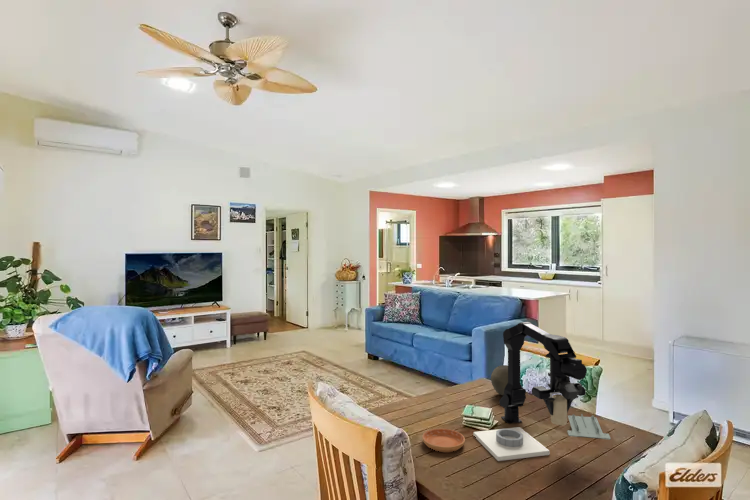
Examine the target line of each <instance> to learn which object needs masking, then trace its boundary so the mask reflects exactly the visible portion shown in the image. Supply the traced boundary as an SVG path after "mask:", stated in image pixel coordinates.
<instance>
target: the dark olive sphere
mask: <svg viewBox="0 0 750 500" xmlns="http://www.w3.org/2000/svg"><path fill="white" fill-rule="evenodd" d="M490 382H491V384H492V387H493V389H494V391H495V392H496V393H498V394H499V395H501V396H502V397H503V396H504V389H505V387H506V385H507V383H508V364H507V365H504V364H503V365H502V364H501V365H498V366H497V367H495V368H494V369H493V371H492V372H491V375H490Z"/></svg>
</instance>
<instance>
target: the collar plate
mask: <svg viewBox="0 0 750 500" xmlns="http://www.w3.org/2000/svg"><path fill="white" fill-rule="evenodd" d="M474 436H475V437H476V438H475V437H474ZM473 437H474V438H475V439H476V440H477V441H478V442H479V444H481V445H482V446H483V448H485V450H487V451H488V452H489V454H490V455H491V456H492V457H494V459H495V460H496V461H498V462H503V461H509V460H519V459H525V458H526V459H528V458H535V457H541V456H543V457H544V456H549V455H550V453H551V451H550V450H549V449H548V448H547V447H546V446H545V445H543V444H542V443H541V442H539V441H538V439H535V438H534V437H533V436H531V435H530V433H528V432H527V431H525V430H524V429H523V428H522V427H520V426H518V427H517V426H516V427H508V428H498V429H490V430H480V431H473Z"/></svg>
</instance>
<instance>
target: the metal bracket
mask: <svg viewBox="0 0 750 500" xmlns="http://www.w3.org/2000/svg"><path fill="white" fill-rule="evenodd" d="M580 415H581V416H579V415H575V414H574V413H572V415H568V414H567V419H568V421H569V425H570V427H571V430H570V429H569V430H567V431H566V433H567V434H568V437H577V438H578V437H579V438H589V439H590V438H591V439H599V440H600V439H601V440H612V439H611V436H610V433H604V432H603V430H602V428H601V425H600V422H599V421H598V417H595V416H594V415H591V416H584V415H583V413H581V414H580Z"/></svg>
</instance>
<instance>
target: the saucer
mask: <svg viewBox="0 0 750 500" xmlns="http://www.w3.org/2000/svg"><path fill="white" fill-rule="evenodd" d="M421 438H422V442H423V443H424V444H425V445H426V446H427V447H428V448H429V449H430V448H431V449H430V450H432V449H433V450H432V451H434V450H435V452H438V451H439V452H438V453H454V452H456V451H458V450H460V449H461V448H462V447H463V446H464V445H465V443H466V442H465V441H466V438H465V436H464V435H463V434H462V433H460V432H459V431H456V430H453V429H449V428H432V429H429V430H427V431H424V432H423V434H422V436H421ZM453 451H454V452H453Z"/></svg>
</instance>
